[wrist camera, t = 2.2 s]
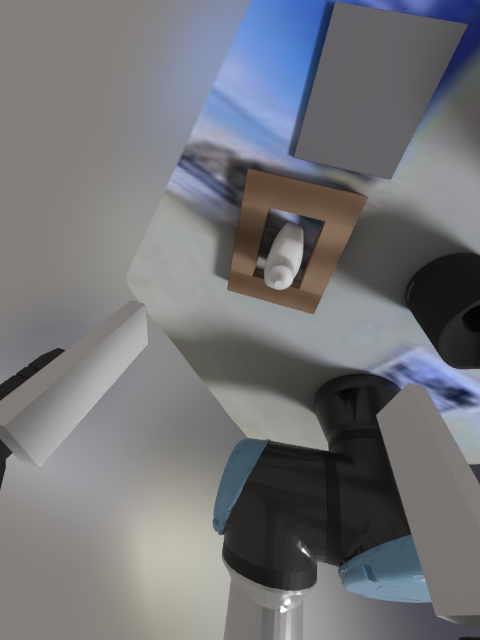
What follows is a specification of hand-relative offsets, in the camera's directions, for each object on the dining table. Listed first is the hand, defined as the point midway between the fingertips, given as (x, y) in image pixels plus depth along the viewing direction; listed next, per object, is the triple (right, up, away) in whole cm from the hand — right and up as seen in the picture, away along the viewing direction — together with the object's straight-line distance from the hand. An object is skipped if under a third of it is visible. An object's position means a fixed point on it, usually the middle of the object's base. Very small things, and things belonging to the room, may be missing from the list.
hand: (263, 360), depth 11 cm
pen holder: (+24, +6, +16) cm, 30 cm away
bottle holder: (+5, +12, +17) cm, 22 cm away
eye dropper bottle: (+5, +12, +18) cm, 22 cm away
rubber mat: (+10, +22, +9) cm, 26 cm away
